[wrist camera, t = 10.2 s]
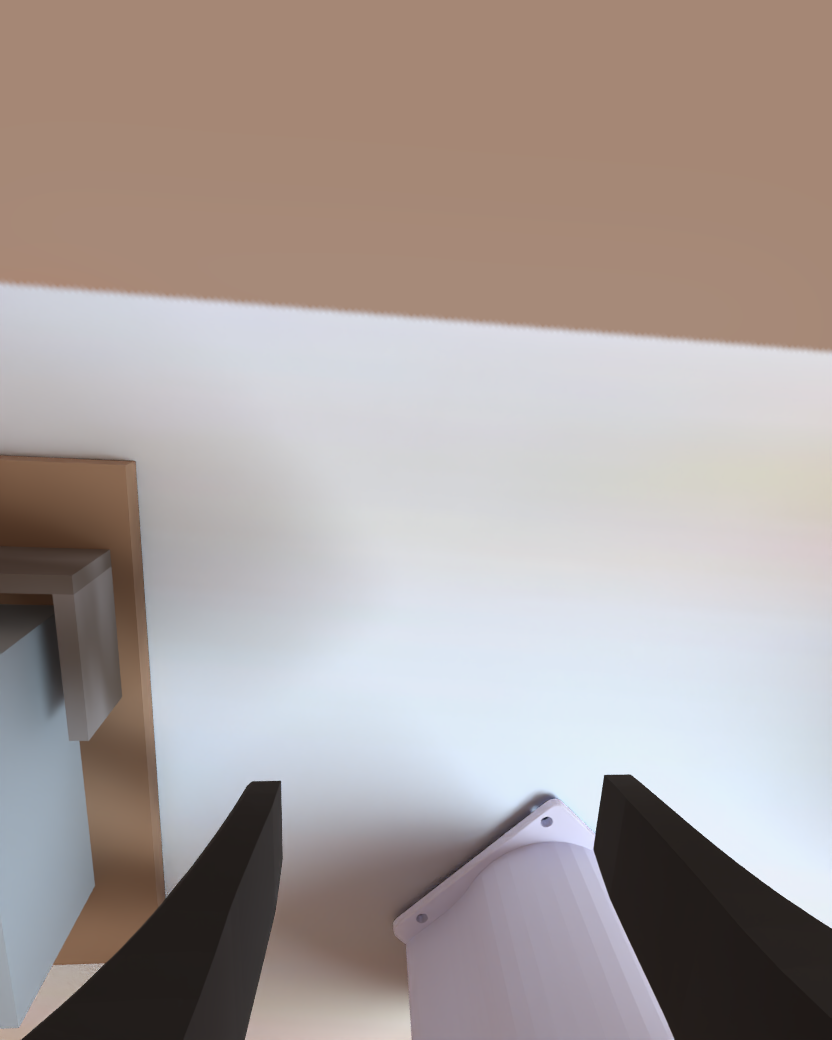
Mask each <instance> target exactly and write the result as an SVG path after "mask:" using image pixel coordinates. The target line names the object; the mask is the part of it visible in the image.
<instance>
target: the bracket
mask: <svg viewBox="0 0 832 1040" xmlns="http://www.w3.org/2000/svg"><path fill="white" fill-rule="evenodd" d="M0 604H13V605H54V613H55V622H56V630H57V639H58V648H59V657H60V666H61V675H62V684H63V692H64V701H65V710H66V719H67V728H68V737H69V741H79V742H80V752H81V761H82V770H83V779H84V789H85V798H86V807H87V816H88V825H89V835H90V844H91V853H92V862H93V871H94V881H95V887H94V888H93V890H92V892H91V894H90V896H89V898H88V900H87V902H86V903H85V905H84V907H83V909H82V911H81V913H80V915H79V916H78V918H77V920H76V922H75V924H74V926H73V928H72V930H71V931H70V933H69V935H68V937H67V939H66V941H65V943H64V944H63V946H62V948H61V950H60V952H59V954H58V956H57V958H56V959H55V961H54V963H53V965H65V964H94V963H106V962H107V961H108V960H109V959H110V958H111V957H112V956H113V955H114V954H115V953H116V952H118V951H119V949H120V948H121V947H122V946H123V945H124V944H125V943H126V942H127V941H128V940H129V939H130V938H131V937H132V936H133V935H134V934H135V933H136V932H137V930H138V929H139V928H140V927H141V926H142V925H143V924H144V923H145V922H146V921H147V920H148V918H149V917H150V916H151V915H152V914H153V913H154V912H155V910H156V909H157V908H158V907H159V906H160V905H161V904H162V902H163V901H164V900H165V887H164V872H163V858H162V843H161V828H160V814H159V799H158V785H157V770H156V755H155V741H154V726H153V711H152V697H151V682H150V668H149V653H148V638H147V624H146V609H145V595H144V580H143V565H142V551H141V536H140V521H139V507H138V492H137V478H136V463H135V461H116V460H93V459H71V458H48V457H25V456H3V455H0Z"/></svg>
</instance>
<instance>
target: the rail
mask: <svg viewBox="0 0 832 1040" xmlns="http://www.w3.org/2000/svg"><path fill="white" fill-rule="evenodd" d="M94 887H95V881H94V871H93V862H92V853H91V844H90V835H89V825H88V816H87V807H86V798H85V789H84V779H83V770H82V761H81V752H80V742H79V741H69V737H68V728H67V719H66V710H65V701H64V692H63V684H62V675H61V666H60V657H59V648H58V639H57V630H56V622H55V613H54V605H13V604H0V1029H4V1028H19V1027H20V1025H21V1023H22V1021H23V1019H24V1017H25V1015H26V1014H27V1012H28V1010H29V1008H30V1006H31V1004H32V1002H33V1001H34V999H35V997H36V995H37V993H38V991H39V989H40V987H41V986H42V984H43V982H44V980H45V978H46V976H47V974H48V972H49V971H50V969H51V967H52V965H53V963H54V961H55V959H56V958H57V956H58V954H59V952H60V950H61V948H62V946H63V944H64V943H65V941H66V939H67V937H68V935H69V933H70V931H71V930H72V928H73V926H74V924H75V922H76V920H77V918H78V916H79V915H80V913H81V911H82V909H83V907H84V905H85V903H86V902H87V900H88V898H89V896H90V894H91V892H92V890H93V888H94Z"/></svg>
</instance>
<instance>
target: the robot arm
mask: <svg viewBox="0 0 832 1040" xmlns="http://www.w3.org/2000/svg"><path fill="white" fill-rule="evenodd" d="M545 817H548V819H545V820H542V819H543V818H545ZM282 859H283V856H282V808H281V781H253V782H251V783H250V784H249V785H248V786H247V787H246V789H245V790H244V792H243V794H242V795H241V797H240V798H239V800H238V802H237V803H236V805H235V806H234V808H233V810H232V811H231V813H230V814H229V816H228V817H227V819H226V820H225V821H224V823H223V824H222V826H221V827H220V829H219V830H218V832H217V833H216V834H215V836H214V837H213V839H212V840H211V841H210V843H209V844H208V845H207V847H206V848H205V849H204V851H203V852H202V854H201V855H200V856H199V858H198V859H197V860H196V862H195V863H194V864H193V866H192V867H191V868H190V869H189V871H188V872H187V873H186V874H185V876H184V877H183V878H182V879H181V880H180V882H179V883H178V884H177V885H176V887H175V888H174V889H173V890H172V891H171V893H170V894H169V895H168V896H167V898H166V899H165V900H164V901H163V902H162V904H161V905H160V906H159V907H158V908H157V909H156V910H155V912H154V913H153V914H152V915H151V916H150V917H149V918H148V920H147V921H146V922H145V923H144V924H143V925H142V926H141V927H140V928H139V929H138V930H137V932H136V933H135V934H134V935H133V936H132V937H131V938H130V939H129V940H128V941H127V942H126V943H125V944H124V945H123V946H122V947H121V948H120V949H119V951H118V952H116V953H115V954H114V955H113V956H112V957H111V958H110V959H109V960H108V961H107V962H106V963H105V964H104V965H103V966H102V967H101V968H100V969H99V970H98V971H97V972H96V973H95V974H94V975H93V976H92V977H91V978H90V979H89V980H88V981H87V982H86V983H85V984H84V985H83V986H82V987H81V988H80V989H79V990H77V991H76V992H75V993H74V994H73V995H72V996H71V997H70V998H69V999H68V1000H67V1001H66V1002H64V1003H63V1004H62V1005H61V1006H60V1007H59V1008H58V1009H56V1010H55V1011H54V1012H53V1013H52V1014H51V1015H49V1016H48V1017H47V1018H46V1019H45V1020H44V1021H42V1022H41V1023H40V1024H39V1025H38V1026H37V1027H36V1028H34V1029H33V1030H32V1031H31V1032H30V1033H29V1034H27V1035H26V1036H25V1037H24V1038H23V1039H22V1040H245V1036H246V1032H247V1028H248V1024H249V1019H250V1015H251V1011H252V1007H253V1003H254V999H255V994H256V990H257V986H258V982H259V978H260V974H261V970H262V965H263V961H264V957H265V953H266V949H267V944H268V940H269V936H270V932H271V928H272V923H273V919H274V915H275V910H276V903H277V896H278V889H279V881H280V874H281V867H282ZM419 914H420V915H419ZM393 932H394V935H395V936H396V937H397V938H398V939H399V940H401V941H402V942H403V943H404V944H406V956H407V972H408V988H409V1004H410V1020H411V1036H412V1040H832V929H831V928H830V927H828V926H827V925H825V924H823V923H822V922H820V921H819V920H817V919H816V918H814V917H813V916H811V915H810V914H808V913H807V912H805V911H804V910H802V909H801V908H799V907H798V906H796V905H795V904H793V903H792V902H790V901H789V900H787V899H786V898H784V897H783V896H781V895H780V894H779V893H777V892H776V891H774V890H773V889H772V888H770V887H769V886H767V885H766V884H765V883H763V882H762V881H761V880H759V879H758V878H757V877H755V876H754V875H753V874H751V873H750V872H749V871H747V870H746V869H745V868H743V867H742V866H741V865H739V864H738V863H737V862H735V861H734V860H733V859H732V858H730V857H729V856H728V855H727V854H725V853H724V852H723V851H722V850H720V849H719V848H718V847H717V846H715V845H714V844H713V843H712V842H710V841H709V840H708V839H707V838H705V837H704V836H703V835H702V834H701V833H699V832H698V831H697V830H696V829H695V828H693V827H692V826H691V825H690V824H689V823H687V822H686V821H685V820H684V819H683V818H682V817H680V816H679V815H678V814H677V813H676V812H674V811H673V810H672V809H671V808H670V807H669V806H667V805H666V804H665V803H664V802H663V801H662V800H660V799H659V798H658V797H657V796H656V795H655V794H653V793H652V792H651V791H650V790H649V789H648V788H646V787H645V786H644V785H643V784H642V783H640V782H639V781H638V780H637V779H635V778H634V777H633V776H632V775H604V781H603V787H602V794H601V801H600V807H599V814H598V821H597V827H596V834H595V833H594V832H593V831H592V830H591V829H590V828H589V827H588V826H587V825H586V824H585V823H584V822H583V821H582V820H581V819H580V818H579V817H578V816H577V815H576V814H575V813H574V812H573V811H572V810H571V809H569V808H568V807H567V806H566V805H565V804H564V803H563V802H562V801H561V800H559V799H550V800H548V801H547V802H545V803H544V804H543V805H541V806H540V807H539V808H537V809H536V810H535V811H534V812H532V813H531V814H530V815H528V816H527V817H526V818H525V819H523V820H522V821H521V822H519V823H518V824H517V825H516V826H514V827H513V828H512V829H510V830H509V831H508V832H507V833H505V834H504V835H503V836H501V837H500V838H499V839H498V840H496V841H495V842H494V843H492V844H491V845H490V846H489V847H487V848H486V849H485V850H483V851H482V852H481V853H480V854H478V855H477V856H476V857H474V858H473V859H472V860H471V861H469V862H468V863H467V864H465V865H464V866H463V867H462V868H460V869H459V870H458V871H456V872H455V873H454V874H453V875H451V876H450V877H449V878H447V879H446V880H445V881H444V882H442V883H441V884H440V885H438V886H437V887H436V888H435V889H433V890H432V891H431V892H429V893H428V894H427V895H426V896H424V897H423V898H422V899H420V900H419V901H418V902H417V903H415V904H414V905H413V906H411V907H410V908H409V909H408V910H406V911H405V912H404V913H402V914H401V915H400V916H399V917H397V918H396V919H395V920H394V923H393Z"/></svg>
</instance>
